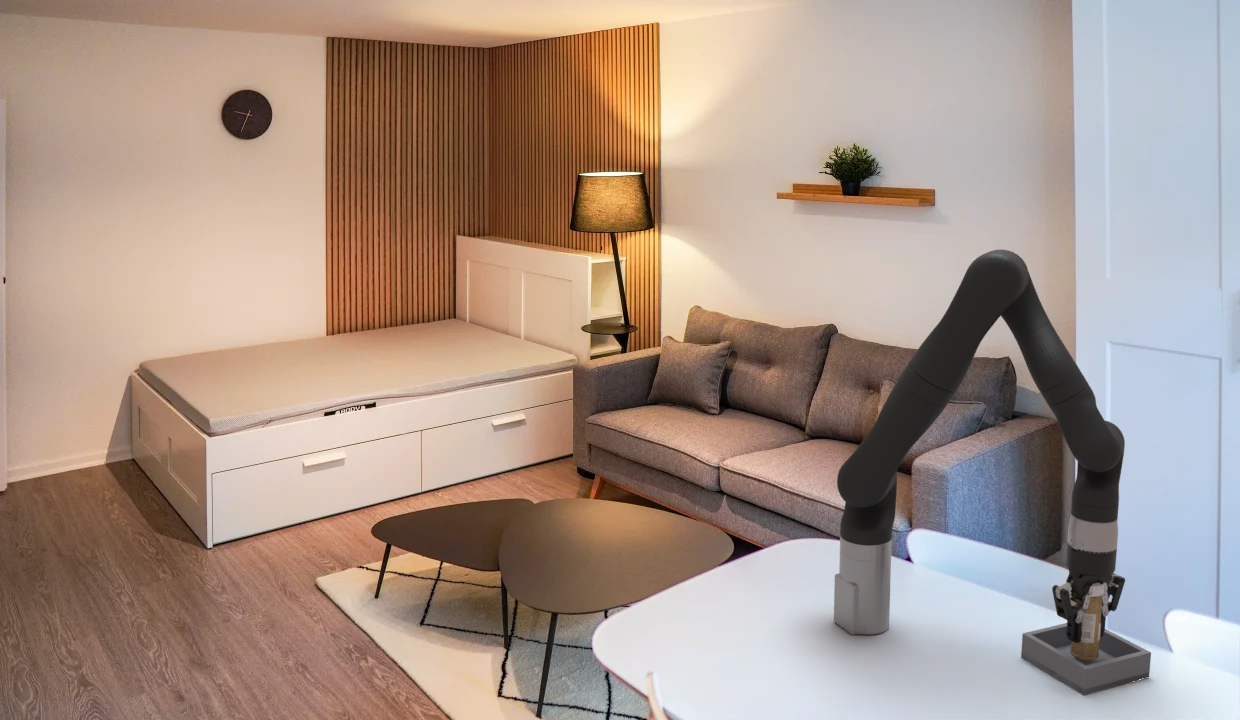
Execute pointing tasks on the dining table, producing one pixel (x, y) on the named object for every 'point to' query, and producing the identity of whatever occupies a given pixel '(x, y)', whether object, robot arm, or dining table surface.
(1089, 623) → the sprinkles bottle
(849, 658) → the dining table surface
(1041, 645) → the bin
